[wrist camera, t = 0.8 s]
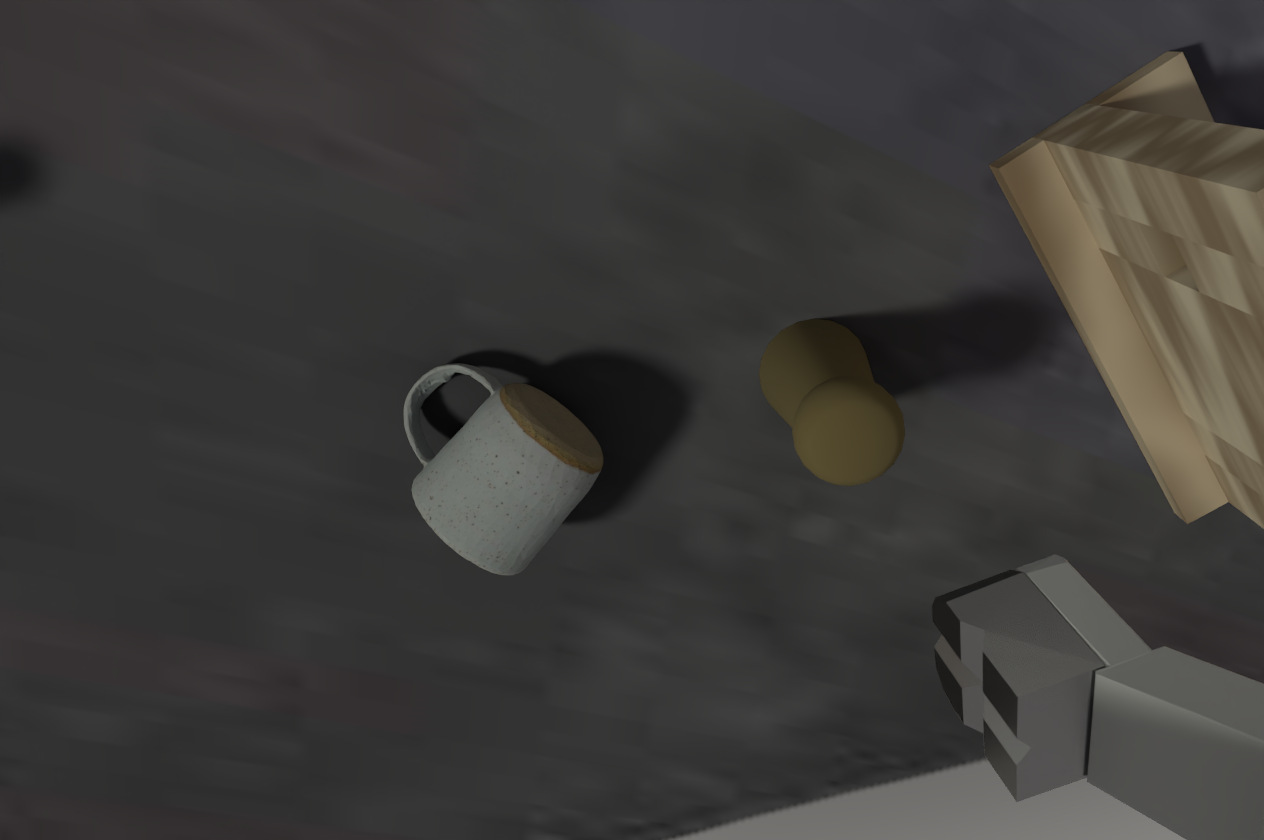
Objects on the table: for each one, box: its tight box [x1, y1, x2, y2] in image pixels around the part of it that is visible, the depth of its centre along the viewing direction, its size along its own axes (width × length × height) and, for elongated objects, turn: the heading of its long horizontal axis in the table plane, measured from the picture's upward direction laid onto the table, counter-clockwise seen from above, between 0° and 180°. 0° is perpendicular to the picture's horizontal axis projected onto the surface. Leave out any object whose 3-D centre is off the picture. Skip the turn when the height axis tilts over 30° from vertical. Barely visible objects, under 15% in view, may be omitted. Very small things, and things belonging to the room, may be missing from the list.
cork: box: [759, 319, 905, 486], centre depth 53 cm, size 6×6×11 cm
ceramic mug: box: [404, 363, 603, 575], centre depth 55 cm, size 11×8×8 cm
